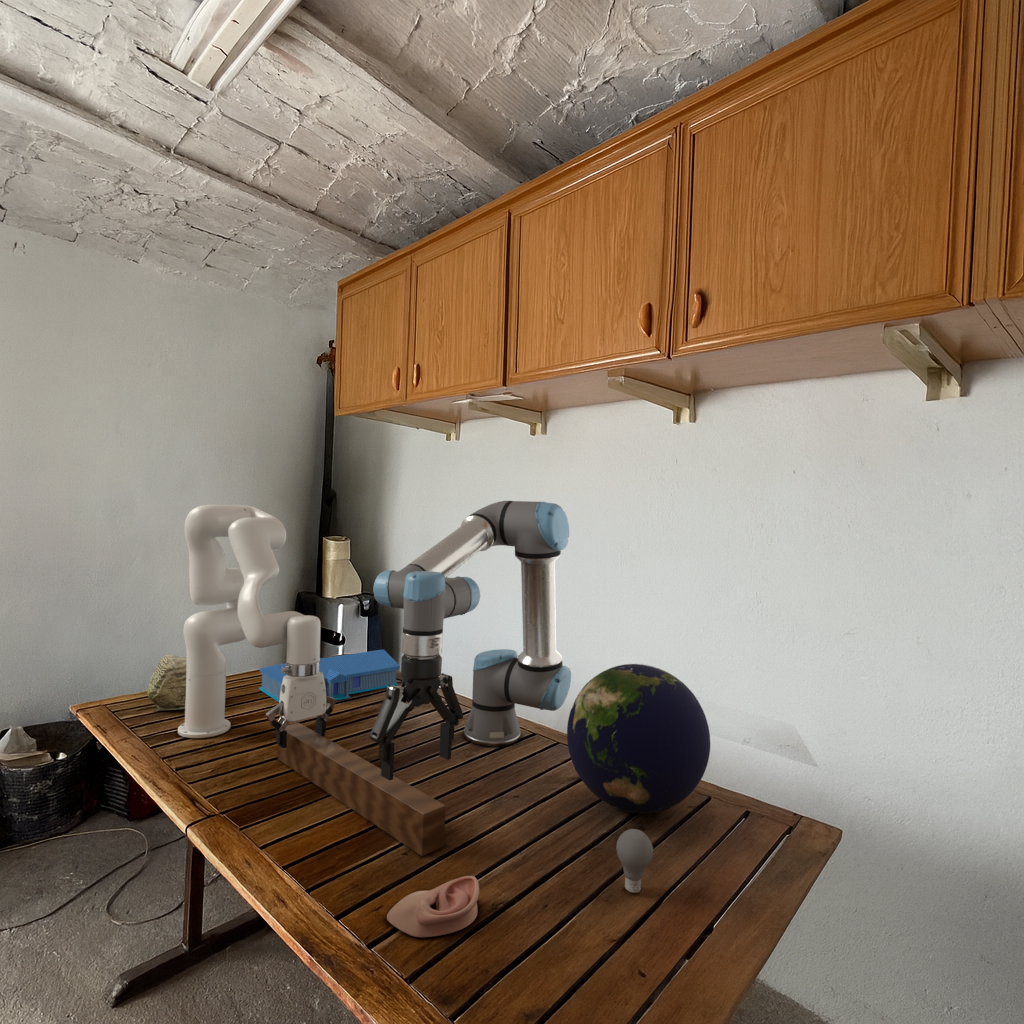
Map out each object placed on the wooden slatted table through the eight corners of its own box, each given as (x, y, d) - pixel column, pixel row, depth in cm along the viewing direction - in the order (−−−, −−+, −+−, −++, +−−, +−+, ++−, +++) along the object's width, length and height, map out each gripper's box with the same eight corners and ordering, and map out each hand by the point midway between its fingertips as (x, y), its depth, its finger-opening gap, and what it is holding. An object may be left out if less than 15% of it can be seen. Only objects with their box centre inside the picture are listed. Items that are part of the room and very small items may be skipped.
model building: (289, 709, 186) (291, 675, 185) (258, 688, 204) (259, 657, 204) (403, 687, 212) (405, 657, 212) (366, 670, 230) (368, 643, 230)
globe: (544, 820, 127) (551, 672, 127) (585, 765, 155) (590, 643, 155) (698, 858, 116) (706, 696, 116) (712, 791, 144) (719, 660, 143)
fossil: (144, 707, 182) (145, 655, 182) (212, 696, 194) (213, 647, 194) (151, 716, 175) (153, 662, 175) (221, 703, 188) (223, 653, 188)
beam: (277, 758, 152) (278, 727, 152) (297, 753, 156) (298, 722, 155) (421, 856, 113) (423, 814, 113) (443, 846, 117) (445, 805, 117)
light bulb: (610, 879, 108) (613, 822, 108) (644, 879, 109) (647, 822, 109) (619, 902, 102) (622, 840, 102) (655, 901, 103) (658, 840, 103)
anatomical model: (379, 903, 93) (407, 860, 104) (378, 930, 93) (406, 884, 105) (466, 919, 91) (485, 873, 102) (464, 947, 91) (484, 898, 102)
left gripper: (275, 678, 140) (273, 755, 140) (344, 665, 153) (342, 736, 153) (260, 672, 146) (258, 746, 146) (327, 660, 158) (326, 728, 158)
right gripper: (377, 669, 107) (372, 794, 107) (483, 649, 125) (479, 755, 125) (352, 660, 112) (348, 779, 112) (458, 642, 130) (454, 744, 130)
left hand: (301, 741), depth 149 cm, fingers open, 9 cm apart
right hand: (417, 767), depth 119 cm, fingers open, 13 cm apart
